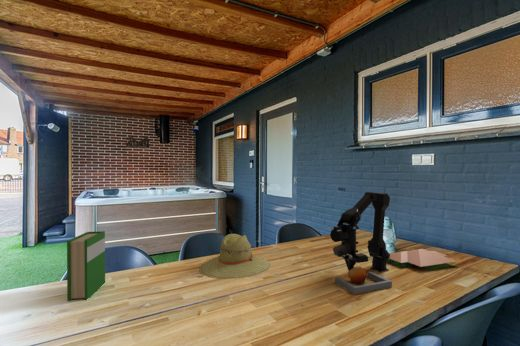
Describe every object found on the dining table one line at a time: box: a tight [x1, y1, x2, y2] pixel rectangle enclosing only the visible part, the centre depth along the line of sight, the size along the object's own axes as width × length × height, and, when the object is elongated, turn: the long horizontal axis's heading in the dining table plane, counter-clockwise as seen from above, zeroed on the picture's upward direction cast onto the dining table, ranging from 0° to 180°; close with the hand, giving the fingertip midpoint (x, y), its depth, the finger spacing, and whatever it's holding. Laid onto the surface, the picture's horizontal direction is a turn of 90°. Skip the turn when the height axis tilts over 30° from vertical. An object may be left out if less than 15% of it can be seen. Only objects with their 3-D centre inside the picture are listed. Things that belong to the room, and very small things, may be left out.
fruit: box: [347, 266, 367, 285], centre depth 130 cm, size 8×8×8 cm
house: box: [387, 248, 458, 271], centre depth 157 cm, size 23×33×8 cm
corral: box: [334, 271, 393, 295], centre depth 127 cm, size 20×14×2 cm
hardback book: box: [66, 230, 106, 302], centre depth 122 cm, size 18×7×24 cm, turn 8°
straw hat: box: [199, 233, 271, 280], centre depth 154 cm, size 38×40×17 cm
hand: (349, 271), depth 135 cm, fingers closed
